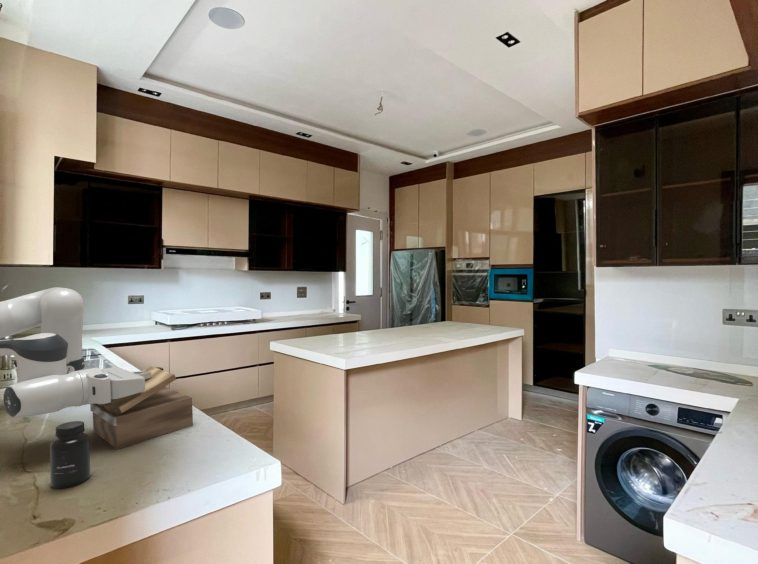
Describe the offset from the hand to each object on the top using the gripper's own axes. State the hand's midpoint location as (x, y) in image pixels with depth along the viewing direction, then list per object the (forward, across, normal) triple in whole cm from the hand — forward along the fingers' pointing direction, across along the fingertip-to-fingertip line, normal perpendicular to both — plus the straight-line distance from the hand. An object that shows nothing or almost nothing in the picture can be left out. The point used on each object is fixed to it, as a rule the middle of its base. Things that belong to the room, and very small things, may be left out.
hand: (149, 374), depth 113 cm
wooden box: (-2, 0, -15) cm, 15 cm away
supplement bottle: (-23, +18, -15) cm, 33 cm away
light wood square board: (-3, 0, -4) cm, 5 cm away
